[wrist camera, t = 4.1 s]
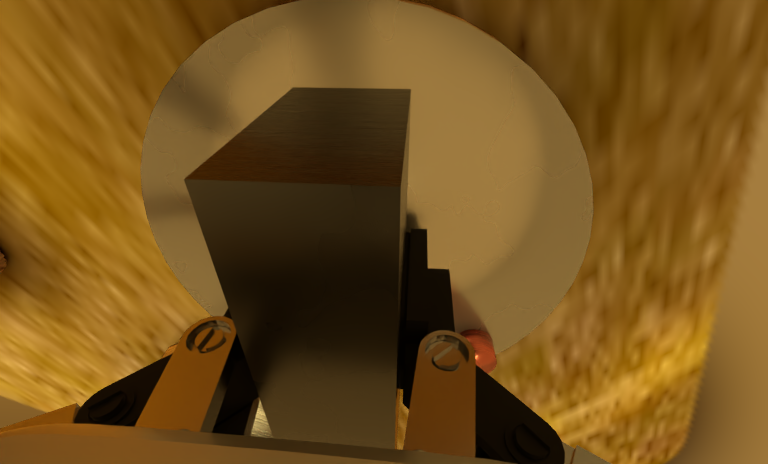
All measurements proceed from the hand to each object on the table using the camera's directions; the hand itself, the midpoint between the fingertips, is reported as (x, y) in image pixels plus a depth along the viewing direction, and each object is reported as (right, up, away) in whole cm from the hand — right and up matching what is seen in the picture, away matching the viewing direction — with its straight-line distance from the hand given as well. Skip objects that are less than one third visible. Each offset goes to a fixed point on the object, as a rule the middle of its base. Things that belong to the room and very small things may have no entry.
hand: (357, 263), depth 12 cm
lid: (0, +2, +3) cm, 3 cm away
